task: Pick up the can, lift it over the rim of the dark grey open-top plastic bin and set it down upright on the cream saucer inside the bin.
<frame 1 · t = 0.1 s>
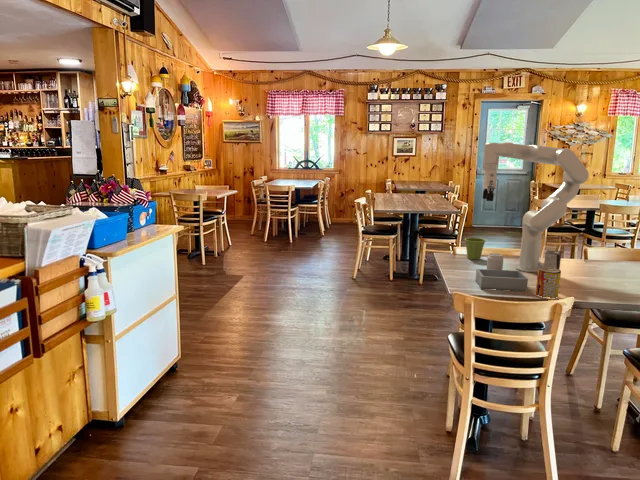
hand: (487, 199, 246), 37 cm above the table, tool pointing down, fingers open, 9 cm apart
plant pot: (473, 258, 273), on the table
beverage can: (546, 296, 206), on the table
bin: (500, 286, 220), on the table
can: (493, 278, 234), on the table
coffee box: (549, 285, 222), on the table
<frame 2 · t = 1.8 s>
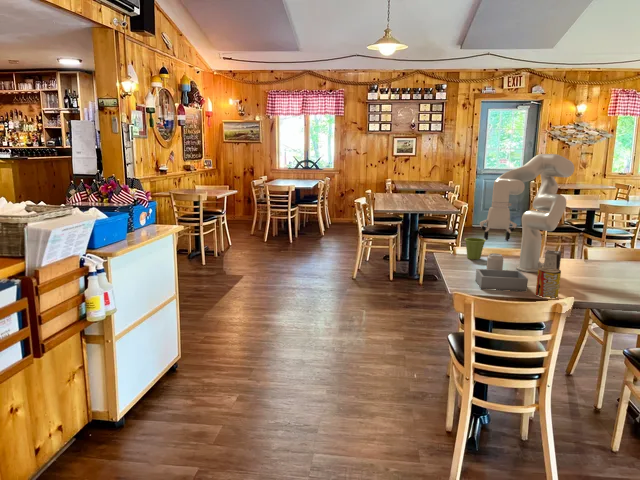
hand: (496, 240, 229), 19 cm above the table, tool pointing down, fingers open, 9 cm apart
nothing on the table moved.
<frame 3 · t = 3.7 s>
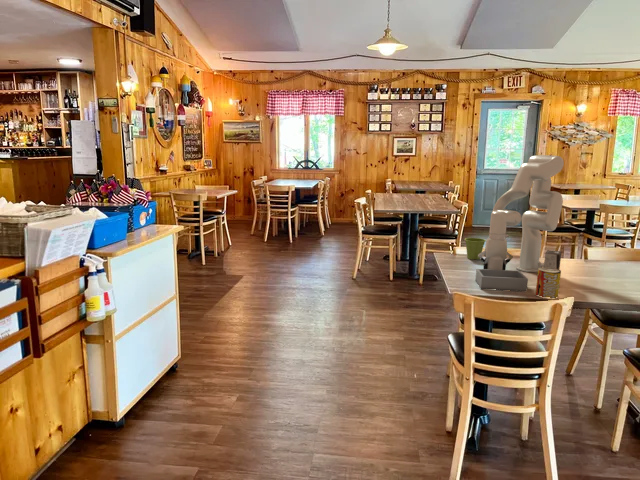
hand: (494, 271, 233), 3 cm above the table, tool pointing down, fingers closed on can, 7 cm apart
can: (493, 278, 234), on the table, touching gripper
everything else where it was.
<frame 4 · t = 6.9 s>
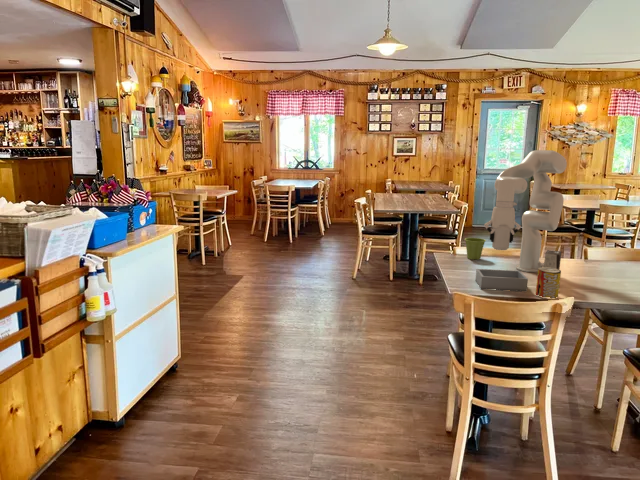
hand: (500, 241, 221), 20 cm above the table, tool pointing down, fingers closed on can, 7 cm apart
can: (500, 249, 222), point 17 cm above the table, touching gripper
everything else where it was.
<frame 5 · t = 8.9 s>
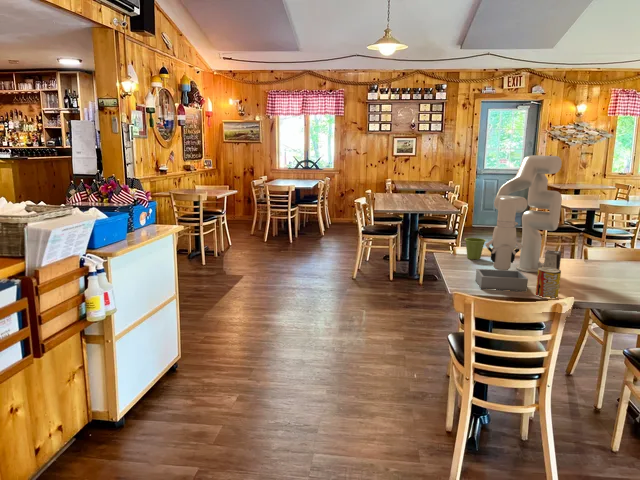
hand: (502, 261, 217), 12 cm above the table, tool pointing down, fingers closed on can, 7 cm apart
can: (501, 269, 218), point 8 cm above the table, touching gripper
everything else where it was.
when the fingers open (6 cm above the table, at t = 10.5 s): can drops 1 cm, resting on bin.
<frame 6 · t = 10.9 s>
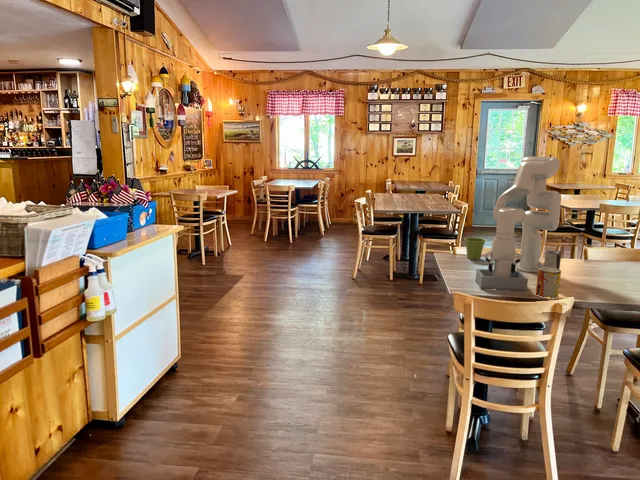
hand: (501, 272, 219), 7 cm above the table, tool pointing down, fingers open, 9 cm apart
can: (500, 282, 220), point 2 cm above the table, touching bin
everything else where it was.
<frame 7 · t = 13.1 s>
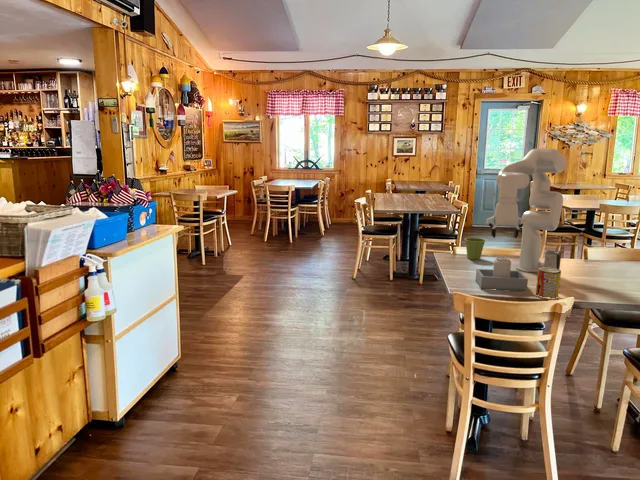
hand: (504, 237, 219), 23 cm above the table, tool pointing down, fingers open, 9 cm apart
nothing on the table moved.
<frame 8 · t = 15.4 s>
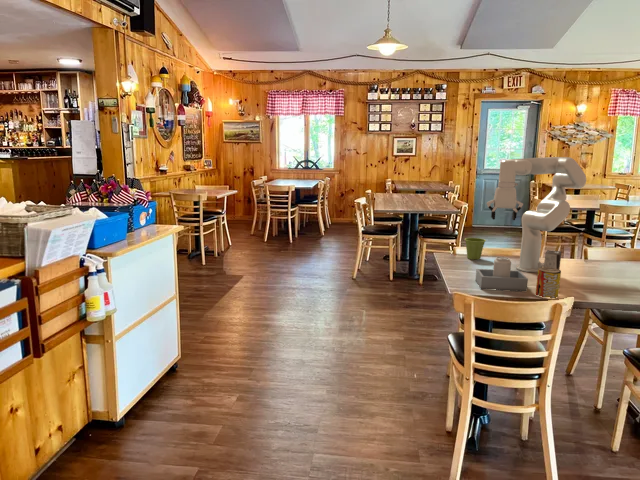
hand: (503, 219, 235), 28 cm above the table, tool pointing down, fingers open, 9 cm apart
nothing on the table moved.
at the end: can inside the target area on the bin (0.2 cm from its centre), point 1.4 cm above the bin's base; can tilted 0°; the gripper is holding nothing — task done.
